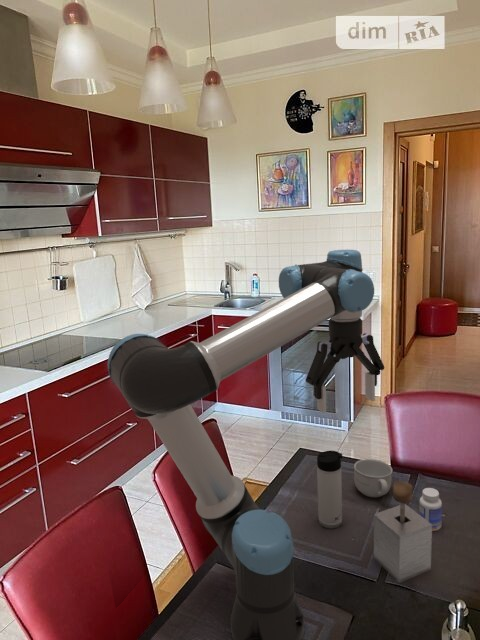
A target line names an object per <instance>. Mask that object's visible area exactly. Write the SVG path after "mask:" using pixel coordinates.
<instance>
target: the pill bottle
mask: <svg viewBox="0 0 480 640" xmlns="http://www.w3.org/2000/svg"><path fill="white" fill-rule="evenodd" d="M421 495H422V496H421V497H420V498H419V503H418V504H419V505H418V506H419V507H418V508H419V510H418V511H419V513H418V514H419V515H420V516H422V517H423V518H424V519H426V520H427V521H428V522H429V523H431V524H432V532H436V531H439V530H440V529H441V528H442V518H443V517H442V515H443V514H442V511H443V509H442V508H443V502H442V500H441V499H440V493H439V491H438V490H437V489H436V488H433V487H425V488H424V489H422V494H421Z"/></svg>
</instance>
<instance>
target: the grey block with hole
mask: <svg viewBox="0 0 480 640" xmlns="http://www.w3.org/2000/svg"><path fill="white" fill-rule="evenodd" d="M432 535H433V531H432V524H431V523H429V522H428V521H427V520H426V519H424V518H423V517H422V516H420V515H419V513H418V512H417V511H415V510H414V509H413V508H412V507H410V506H409V505H407V503H405V523H403V524H401V523H400V504H399V505H396V506H393V507H391V508H388V507H385V508H382V509H379V510H378V512H376V513H373V559H374V560H376V561H377V563H378V564H379V565H380V566H381V567H382V568H383V569H384V570H385V571H386V572H388V574H389V575H390V576H391V577H392V578H394V580H395V581H396V582H397V583H398V584H400V583H404V582H406V581H408V580H411V579H413V578H415V577H417V576H420V575H422V574H425V573H427V572H429V571H431V569H432V567H431V566H432V544H433V543H432V541H433V539H432Z"/></svg>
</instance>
